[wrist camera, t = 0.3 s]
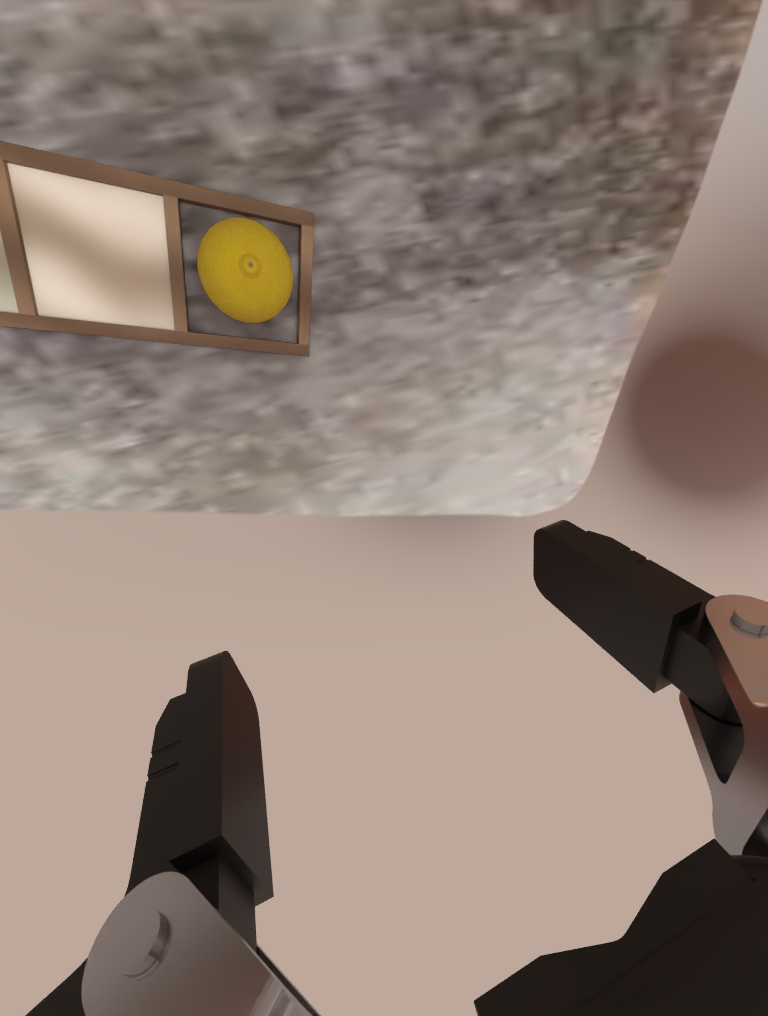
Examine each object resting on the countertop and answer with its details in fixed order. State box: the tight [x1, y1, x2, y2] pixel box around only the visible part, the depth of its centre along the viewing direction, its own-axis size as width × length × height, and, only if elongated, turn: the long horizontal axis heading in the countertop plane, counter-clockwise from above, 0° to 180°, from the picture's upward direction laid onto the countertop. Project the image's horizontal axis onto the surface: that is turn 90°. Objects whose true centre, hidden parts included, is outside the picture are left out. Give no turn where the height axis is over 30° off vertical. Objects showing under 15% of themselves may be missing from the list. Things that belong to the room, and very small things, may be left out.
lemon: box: [197, 218, 293, 323], centre depth 24 cm, size 6×6×8 cm
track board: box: [0, 141, 314, 356], centre depth 24 cm, size 9×26×1 cm, turn 83°
